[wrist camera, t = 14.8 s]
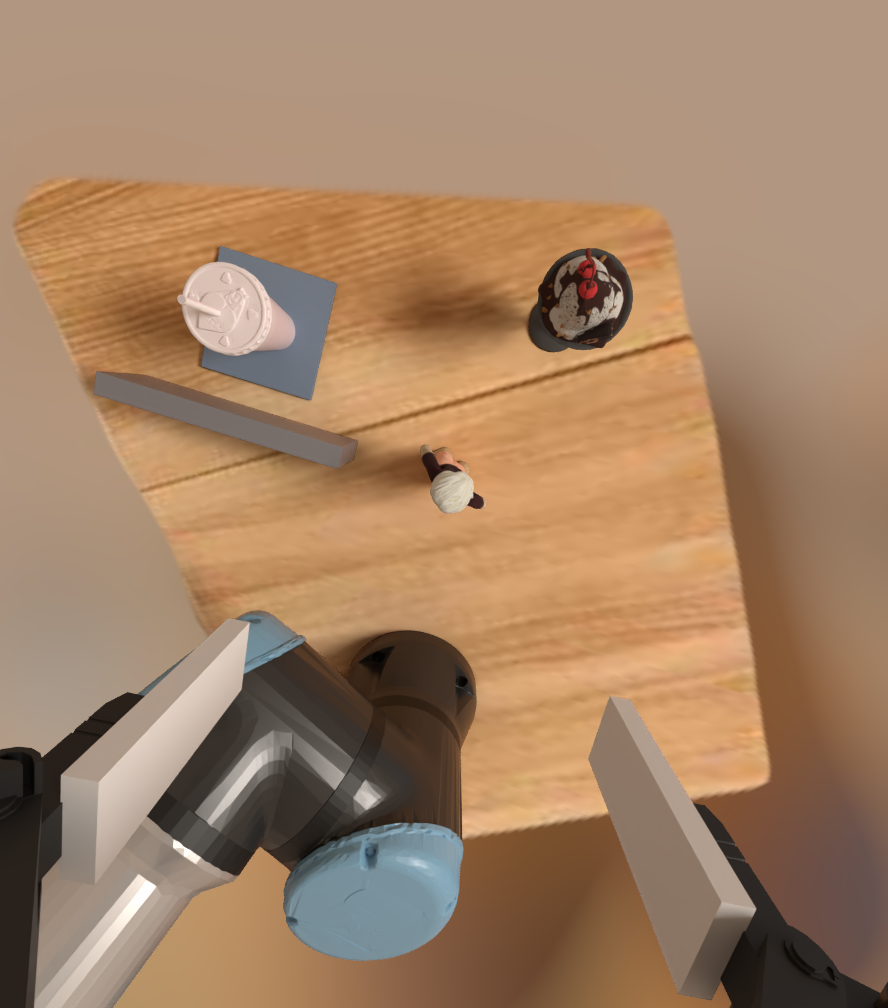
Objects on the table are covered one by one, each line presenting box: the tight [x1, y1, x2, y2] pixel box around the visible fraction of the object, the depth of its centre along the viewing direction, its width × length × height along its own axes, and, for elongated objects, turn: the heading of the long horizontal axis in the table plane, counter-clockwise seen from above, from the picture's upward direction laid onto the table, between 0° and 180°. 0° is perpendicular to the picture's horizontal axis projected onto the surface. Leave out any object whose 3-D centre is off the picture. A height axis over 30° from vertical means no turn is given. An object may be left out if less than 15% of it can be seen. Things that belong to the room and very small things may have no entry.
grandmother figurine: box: [420, 445, 486, 513], centre depth 38 cm, size 8×4×13 cm, turn 58°
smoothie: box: [177, 262, 295, 356], centre depth 34 cm, size 6×6×14 cm
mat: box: [201, 246, 337, 400], centre depth 41 cm, size 11×11×1 cm
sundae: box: [529, 248, 633, 352], centre depth 33 cm, size 7×7×15 cm
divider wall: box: [94, 371, 358, 469], centre depth 41 cm, size 2×22×6 cm, turn 73°
